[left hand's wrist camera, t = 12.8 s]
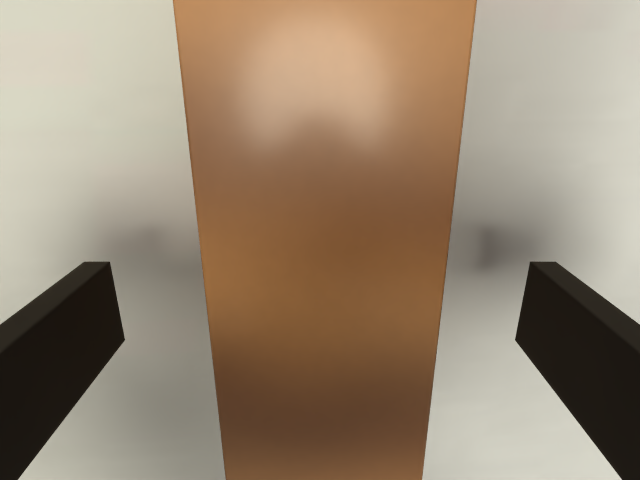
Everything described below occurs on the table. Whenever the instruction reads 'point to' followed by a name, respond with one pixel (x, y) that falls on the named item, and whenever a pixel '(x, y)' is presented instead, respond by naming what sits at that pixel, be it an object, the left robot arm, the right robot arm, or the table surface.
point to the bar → (324, 222)
